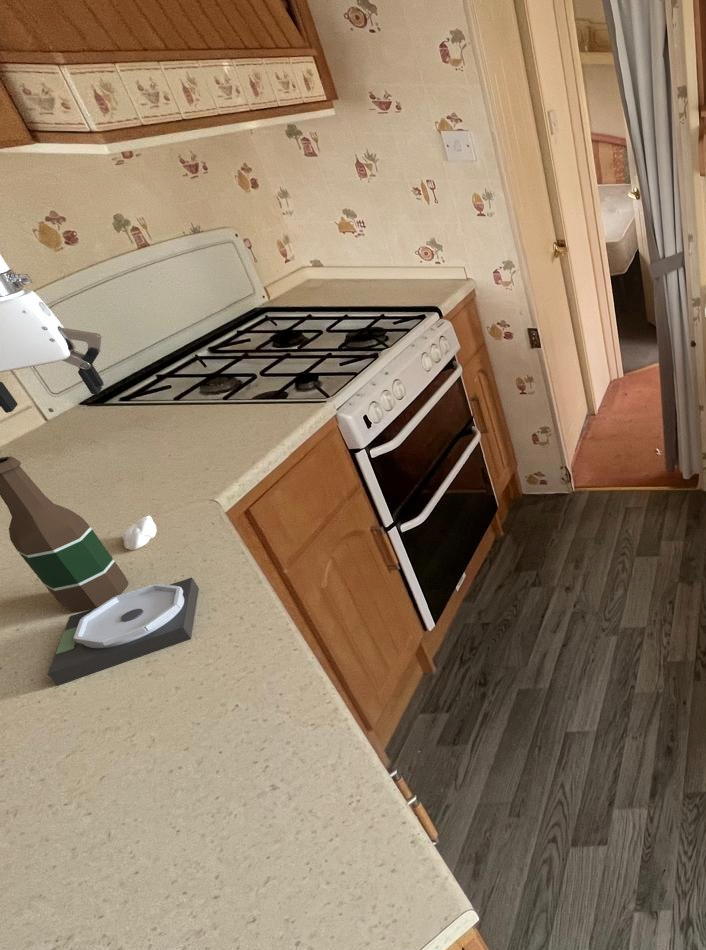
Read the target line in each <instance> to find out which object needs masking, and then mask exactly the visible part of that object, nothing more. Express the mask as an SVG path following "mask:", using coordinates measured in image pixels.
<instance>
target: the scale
mask: <svg viewBox="0 0 706 950" xmlns="http://www.w3.org/2000/svg"><path fill="white" fill-rule="evenodd" d="M199 590H200V587H199V586H198V585H197V583H196V581H195V579H194V578H193V577H189V578H185V579H182V580H180V581H175V582H173V583H170V584H163V583H152V584H149V585H146V586H143V587H140V588H137V589H134V590H130V591H126V592H124V593H121V594H120V595H117V596H116V597H113V598H111V599H110V600H108V601H107V602H105V603H104V604H102V605H101V606H99V607H97V608H93V609H88V610H84V611H81V612H77V613H76V614H72V615H69V616H68V619H67V622H66V625H65V627H64V630H63V632H62V635H61V637H60V640H59V643H58V645H57V647H56V650H55V653H54V655H53V658H52V661H51V663H50V666H49V668H48V671H47V673H46V674H47V676H48V677H49V678H50V680H51V681H52V682H53V683H54V684H55V686H61V685H64V684H66V683H69V682H72V681H74V680H77V679H80V678H83V677H86V676H89V675H91V674H95V673H98V672H100V671H103V670H106V669H108V668H112V667H115V666H118V665H120V664H123V663H125V662H129V661H132V660H135V659H138V658H141V657H143V656H146V655H149V654H151V652H152V653H154V651H155V652H158V651H160V650H162V649H166V648H168V646H169V647H172V646H174V645H177V644H180V643H183V642H186V641H189V640H191V639H192V635H193V628H194V622H195V616H196V610H197V603H198V597H199V596H198V595H199ZM148 653H149V654H148ZM145 654H146V655H145ZM142 655H143V656H142ZM134 658H135V659H134Z"/></svg>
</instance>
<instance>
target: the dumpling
mask: <svg viewBox="0 0 706 950" xmlns="http://www.w3.org/2000/svg"><path fill="white" fill-rule="evenodd" d="M157 530H158V529H157V525H156V523H155V522H154V521H153V518H152V516H151V515H145V516H143V517H141V518H139V519H138V520H137V521H135V522H134V523H133V524H131V525H130V526H129V527H128V528H127V529H126V530H125V531H124V532H123V534H122V540H123V546H124V548H125V549H127V550H130V551H135V550H138V549H140V548H142V547H144V546H146V545H147V544H148V543H149V542H150V540H152V539H153V538H155V536H156V535H157Z"/></svg>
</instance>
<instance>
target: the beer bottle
mask: <svg viewBox="0 0 706 950" xmlns="http://www.w3.org/2000/svg"><path fill="white" fill-rule="evenodd" d="M21 464H22V462H21V461H20V460H18V459H17V458H16V457H14V456H2V457H0V498H1V499H2V501H3V502H4V504H5V505H6V506H7V509H8V511H9V513H10V516H11V518H10V522H9V527H8V534H9V540H10V542H11V544H12V545H13V546H14V549H15V550H16V551H17V553H18V554H19V555H20V556H21V558H22V559H23V560H24V561H25V563H26V564H27V565H28V566H29V568H30V569H31V570H32V571H33V573H34V574H35V575H36V576H37V578H38V580H40V581H41V583H42V584H43V586H44V587H45V588H46V589H47V590H48V592H49V593H50V594H51V595H52V596H53V598H54V599H55V600H56V601H57V602H58V603H59V604H60V605H61V606H62V607H64V608H65V609H67V610H69V611H71V612H73V613H80V612H84V611H88V610H91V609H94V608H97V607H99V606H101V605H102V604H104V603H105V602H107V601H108V600H110V599H111V598H113V597H116V596H117V595H120V594H123V592H124V591H125V589H126V588H127V587H128V586H129V581H128V579H127V577H126V576H125V574H124V573H123V571H122V569H121V568H120V566H119V565H118V564H117V562H116V561H115V559H114V558H113V557H112V555H111V554H110V552H109V551H108V549H107V548H106V547H105V545H104V543H103V542H102V541H101V540H100V538H99V537H98V535H97V534H96V533H95V531H94V530H93V528H92V527H91V526H90V525H89V523H88V522H87V521H86V520H85V519H84V517H82V516H81V515H79V514H77V513H76V512H74V511H73V510H71V509H69V508H67V507H64V506H62V505H59V504H57V503H54V502H53V501H52V500H50V499H49V498H48V497H47V495H45V494H44V493H43V491H42V490H41V489H40V488H39V487H38V485H37V484H36V483H35V482H34V481H33V480H32V479H31V477H30V476H29V475H28V474H27V473H26V471H25V470H24V469H23V468H22V467H21Z"/></svg>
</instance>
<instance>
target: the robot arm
mask: <svg viewBox="0 0 706 950" xmlns="http://www.w3.org/2000/svg"><path fill="white" fill-rule="evenodd" d="M28 284H33V278H31V276H30V275H29V274H28V273H21V274H20V273H16V272H15V271H14V270H13V269H10V267H9V265H8V263H7V262H6V261H5V259H4V257H3V256H2V254H0V373H6V372H12V371H16V370H23V369H27V368H32V367H38V366H43V365H48V364H54V363H59V362H65V363H66V364H69V365H72V366H74V367H77V368H78V369H79V370H78V371H77V374H78V375H79V376H80V378H81V380H82V381H83V383H84V384H85V386H86V387H87V389H88V391H89V392H90V394H91V395H99V394H100V393H101V391H102V390H103V386H104V381H103V378H102V377H101V376H100V374H99V373H98V371H97V369H96V368H95V366H94V362H95V360H96V359H97V357H98V356H99V354H100V352H101V347H102V335H101V334H100V333H97V332H91V331H85V330H79V329H72V328H66V327H64V326H63V324H62V323H61V322H60V320H59V319H58V317H57V316H56V315H55V314H54V312H53V311H52V310H51V309H50V307H48V305H47V304H46V303H45V302H44V301H43V300H42V298H41V297H39V295H38V294H37V293H36V292H34V290H33V289H25V290H24V286H26V285H28ZM75 341H78V342H85V343H86V344H87V350H86V352H85V354H84V353H83V352H79V351H78V350H75V349H76V344H75ZM18 405H19V404H18V402H17V401H16V399H15V397H14V396H13V394H11V392H10V391H9V389H8V388H7V387H6V385H5V384H4V383H3V381H0V408H1V409H2V410H3V411H4V413H6V414H9V413H12V412H13V411H14V410H15V409H16V407H17V406H18Z"/></svg>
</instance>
